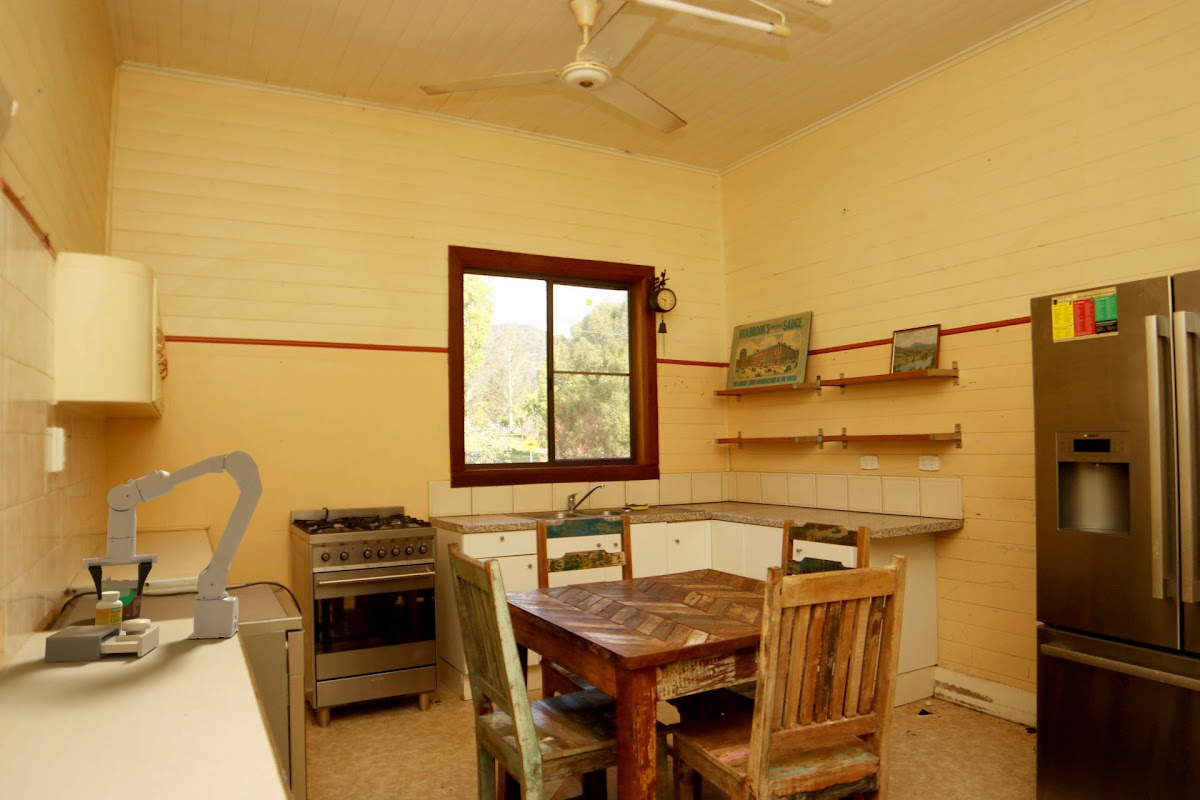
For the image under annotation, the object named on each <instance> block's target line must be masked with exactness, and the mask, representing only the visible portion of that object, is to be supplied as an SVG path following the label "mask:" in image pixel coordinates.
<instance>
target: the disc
mask: <svg viewBox="0 0 1200 800" xmlns="http://www.w3.org/2000/svg"><path fill="white" fill-rule="evenodd" d="M151 621H152V620H151V619H149V618H132V619H126V620H124V621H123V620H122V625H121V632H122V631H123V632H126V631H141V630H145V631H146V630H150V629H151Z"/></svg>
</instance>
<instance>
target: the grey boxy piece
mask: <svg viewBox="0 0 1200 800" xmlns="http://www.w3.org/2000/svg"><path fill="white" fill-rule="evenodd" d="M119 632H120V625H95V624H94V625H71V626H68V627H65V628H64V629H61V630H59V631H57V632H55V633H53V634H50V635H49V636H47V637H45V648H44V652H45V653H44V663H45V662H47V663H54V662H53V661H71V662H86V661H87V662H89V661H90V662H91V661H92V662H93V661H100V660H101V659H103V658H104V657H106V656H108V655H109V654H110V653H101V640H102V639H104V638H105V637H107V636H119V635H120V633H121V632H120V633H119Z"/></svg>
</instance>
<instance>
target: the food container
mask: <svg viewBox="0 0 1200 800" xmlns="http://www.w3.org/2000/svg"><path fill="white" fill-rule="evenodd" d="M137 585H138V579H121V580H120V579H119V580H117V579H112V576H107V577H104V578H103V577H102V584H101V587H102V592H108V591H118V592H120V594H119V598H118V600H120V601H121V602H122V621H123V620H133V619H139V618H140V615H141V609H142V602H143V601H142V600H143V591H144V588H145V587H146V582H145V583H144V586H143V589H142V593H141V596H137Z"/></svg>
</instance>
